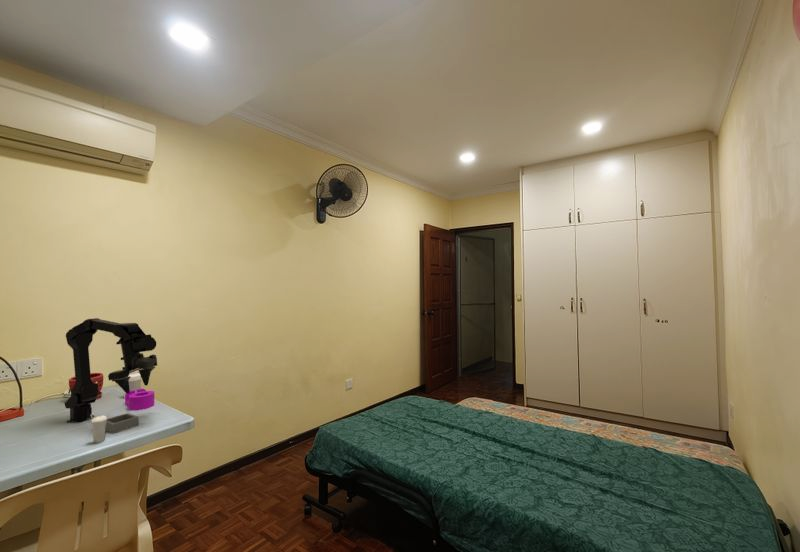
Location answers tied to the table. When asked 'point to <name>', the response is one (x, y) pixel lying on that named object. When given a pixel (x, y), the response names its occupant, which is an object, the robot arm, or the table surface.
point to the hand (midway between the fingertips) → (137, 389)
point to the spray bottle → (134, 381)
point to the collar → (121, 422)
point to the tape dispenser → (139, 399)
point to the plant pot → (94, 377)
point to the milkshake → (99, 428)
